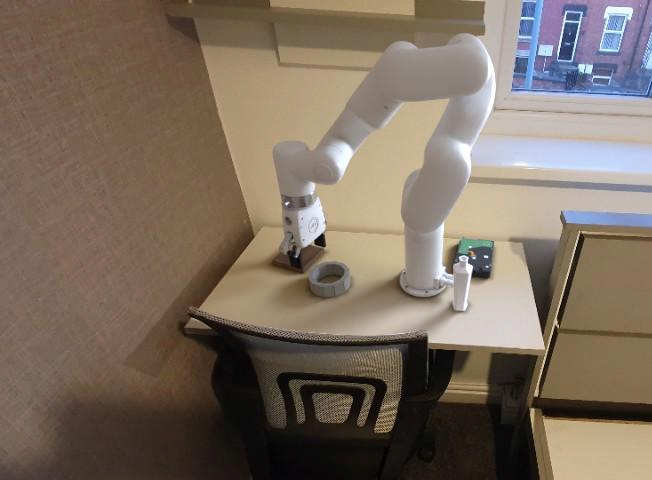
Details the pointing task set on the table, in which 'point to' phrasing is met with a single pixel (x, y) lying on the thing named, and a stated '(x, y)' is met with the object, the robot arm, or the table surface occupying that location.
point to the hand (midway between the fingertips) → (309, 256)
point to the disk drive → (477, 255)
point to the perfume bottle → (461, 283)
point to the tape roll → (329, 288)
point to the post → (307, 254)
